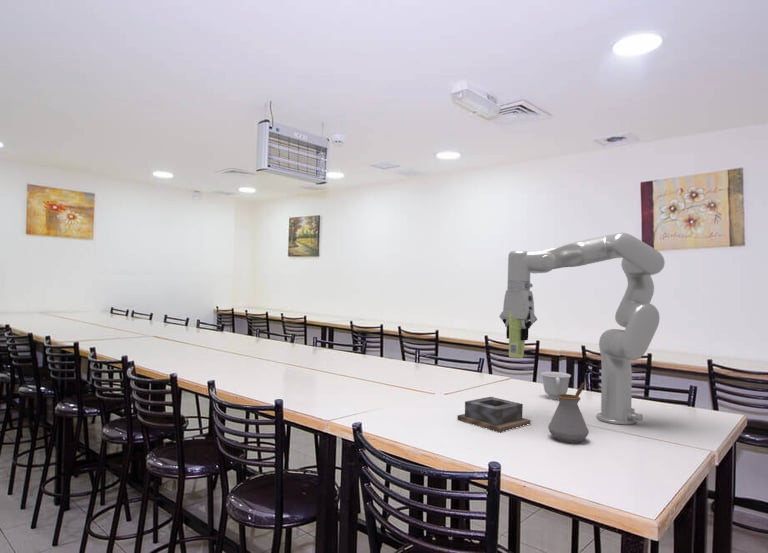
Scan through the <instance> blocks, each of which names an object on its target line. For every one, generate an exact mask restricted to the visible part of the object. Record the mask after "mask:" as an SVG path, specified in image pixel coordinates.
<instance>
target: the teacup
mask: <svg viewBox="0 0 768 553" xmlns="http://www.w3.org/2000/svg"><path fill="white" fill-rule="evenodd" d="M540 375H541V378H542V382H543V389H544V392H545V393H546V394H547V395H548V398H549V399H550V398H551V399H550V400H555V399H559V398H558V397H557V395H559V394H568V389H569V383H570V378H571V377H572V375H571V374H570V373H566V372H559V371H543V372H540Z"/></svg>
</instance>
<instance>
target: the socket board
mask: <svg viewBox="0 0 768 553" xmlns="http://www.w3.org/2000/svg"><path fill="white" fill-rule="evenodd" d="M523 405H524V404H523V403H519V402H515V401H511V400H506V399H501V398H497V397H494V396H487V397H481V398H477V399H471V400H467V401H465V402H464V413H463V414H458V415H456V416H457V417H456V419H457V421H459V422H463V423H466V422H467V423H466V424H470V425H473V424H474V426H476V425H477V426H476V427H479V426H480V427H481V428H483V427H484V428H483V429H486V428H487V430H489V429H490V431H493V430H494V432H496V431H497V432H496V433H499V432H500V433H503V432H502V431H504V432H507V431H506V430H508V431H510V430H509V429H512V428H516V427H519V428H521V427H520V426H523V425H527V424H530V425H531V419H528V418H525V417H524V418H523V411H524V410H523V408H524V407H523ZM527 426H528V425H527ZM523 427H524V426H523ZM516 429H517V428H516ZM512 430H513V429H512Z"/></svg>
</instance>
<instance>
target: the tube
mask: <svg viewBox="0 0 768 553" xmlns="http://www.w3.org/2000/svg"><path fill="white" fill-rule="evenodd" d="M525 323H526V321H525ZM521 329H523V327H522V323H521V320H518V319H514V318H513V316H512V314H511V312H510V310H509V339H508V357H509V358H512V359H513V358H515V359H524V355H525V345H526V344H525V342H526V340H521Z"/></svg>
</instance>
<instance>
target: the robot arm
mask: <svg viewBox="0 0 768 553" xmlns="http://www.w3.org/2000/svg"><path fill="white" fill-rule="evenodd" d="M507 258H508V259H507V288H506V290H505V294H504V297H503V298H504V299H503V307H502V309H503V310H502V312H501V313H500V314H499V316H498V317H499V318H500V320H501V321H502V322H503V324H504V326H505V328H506V332H505V333H506V334H505V335H506V339H508V340H509V310H510V312H511V314H512V316H513V318H514V319H518V320H521V323H522V327H523V329H521V340H525V341H528V340H529V329H531V327H532V326H533V324H535V322H536V321H538V317H537V316H536V315H535V302H534V295H533V291H532V290H531V288H533V284H532V283H531V274H546V273H549V272H551V271H552V270H555V269H562V268H576V267H582V266H587V265H590V264H591V265H592V264H595V263H599V262H605V261H608V260H609V261H610V260H613V259H620V258H621V264H620V265H621V269H622V271H623V273H624V274H625V277H626V280H627V287H626V289H625V292H624V295H623V296H622V299H621V301H620V303H619V305H618V307H617V309H616V311H615V314H614V315H615V316H614V318H615V319H614V320H615V322H616V323H617V324H618V325H619V326H621V327H622V328H625V329H620V328H611V329H606V330H605V331H604V332H603V333H602V334H601V335H600V337H599V342H598V347H599V348H598V349H599V352H600V361H601V378H600V380H601V382H600V386H601V388H600V390H601V394H600V395H601V396H600V397H601V398H600V400H601V403H600V406H601V408H600V412H597V413H596V414H595V415H596V416H595V417H596V419H597V420H599V421H601V422H604V423H607V424H615V425H625V426H626V425H627V426H628V425H634V424H636V423H637V421H639V422H643V421H644V420H643V419H644V416H643V414H642V413H636V412H635V408H633V407H632V387H633V386H632V383H633V382H632V377H633V375H632V374H633V373H632V372H633V371H632V364H631V361H635V360H636V361H637V360H640V359H641V358H642V357H643V356H644V355H645V354H646V353H647V351H648V349H649V347H650V344H651V343H652V340H653V338H654V335H655V334H656V332H657V330H658V327H659V325H660V312H659V310H658V308H657V307H656V306H655V305H654V304H652V303H651V301H652V298H653V296H654V293H655V284H654V281H653V279H652V276H654V275H656V274H659V273H661V272H662V270H663V269H664V267H665V264H666V263H665V262H666V261H665V257H664V256H663V254H662V253H661V252H660V251H659V250H657V249H656V248H654V247H652V246H651V245H649V244H647V243H646V242H644V241H643V240H641V239H640V238H637V237H635V236H634V235H631V234H630V233H627V232H617V233H612V234H608V235H607V234H606V235H602V236H598V237H594V238H590V239H585V240H580V241H575V242H574V241H573V242H571V243H567V244H564V245H561V246H558V247H553V248H548V249H544V250H540V251H527V250H512V251H509V253H508V257H507ZM525 321H526V323H525Z"/></svg>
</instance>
